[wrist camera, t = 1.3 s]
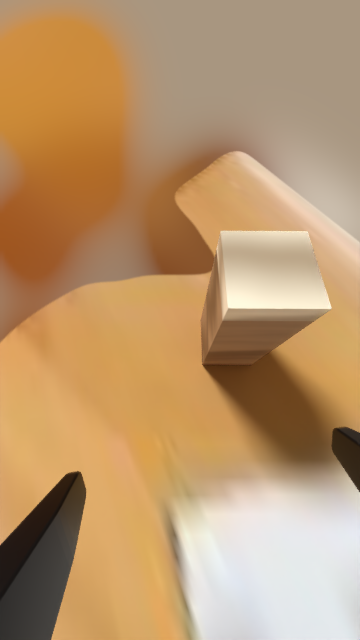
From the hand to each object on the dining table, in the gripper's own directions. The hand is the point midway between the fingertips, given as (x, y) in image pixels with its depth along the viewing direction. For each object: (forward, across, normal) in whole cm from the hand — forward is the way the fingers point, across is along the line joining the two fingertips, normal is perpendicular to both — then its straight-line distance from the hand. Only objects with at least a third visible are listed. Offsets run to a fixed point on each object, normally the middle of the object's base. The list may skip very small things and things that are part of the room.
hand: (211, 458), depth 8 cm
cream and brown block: (+16, -5, +2) cm, 16 cm away
